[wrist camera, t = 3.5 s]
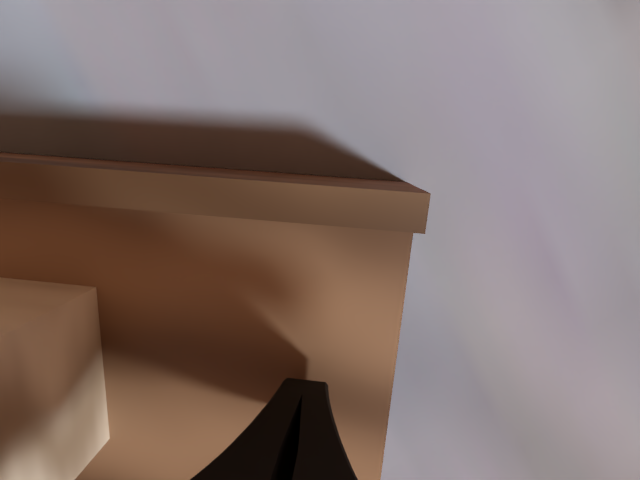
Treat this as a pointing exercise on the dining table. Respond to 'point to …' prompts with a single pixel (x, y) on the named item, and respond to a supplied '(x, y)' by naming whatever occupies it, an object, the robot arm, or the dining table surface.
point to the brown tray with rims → (219, 295)
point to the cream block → (50, 380)
